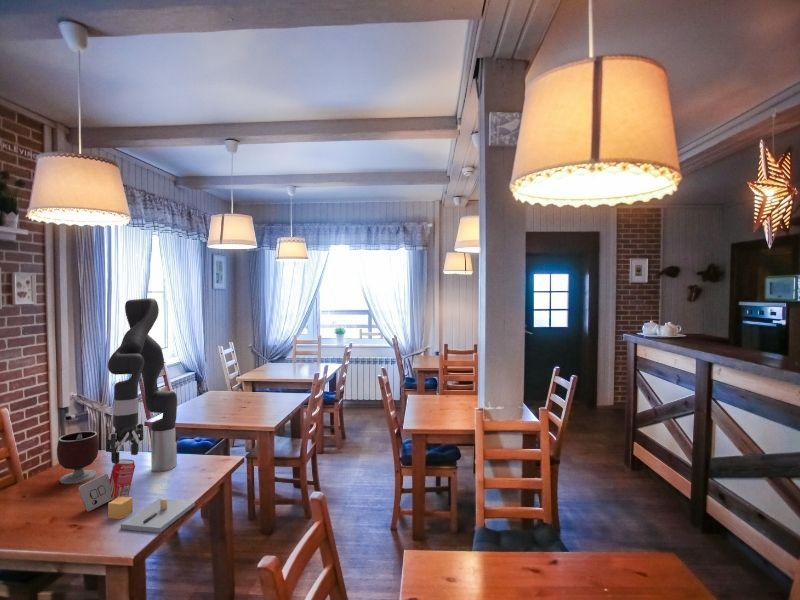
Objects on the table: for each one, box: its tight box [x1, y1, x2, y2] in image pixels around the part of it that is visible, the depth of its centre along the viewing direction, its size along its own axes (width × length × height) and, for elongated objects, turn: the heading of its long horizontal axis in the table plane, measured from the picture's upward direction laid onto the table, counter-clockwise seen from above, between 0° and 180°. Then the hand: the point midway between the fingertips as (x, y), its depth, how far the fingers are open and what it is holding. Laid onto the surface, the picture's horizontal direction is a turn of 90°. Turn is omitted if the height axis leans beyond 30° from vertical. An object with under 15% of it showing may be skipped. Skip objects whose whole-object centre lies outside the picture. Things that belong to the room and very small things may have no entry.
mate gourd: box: [56, 430, 100, 485], centre depth 182 cm, size 16×14×20 cm
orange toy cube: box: [107, 496, 134, 520], centre depth 153 cm, size 5×5×5 cm
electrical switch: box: [78, 473, 113, 512], centre depth 159 cm, size 9×5×9 cm, turn 148°
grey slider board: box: [120, 497, 196, 533], centre depth 152 cm, size 18×14×5 cm
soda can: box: [109, 458, 136, 501], centre depth 165 cm, size 7×7×13 cm
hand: (125, 458), depth 154 cm, fingers open, 8 cm apart
